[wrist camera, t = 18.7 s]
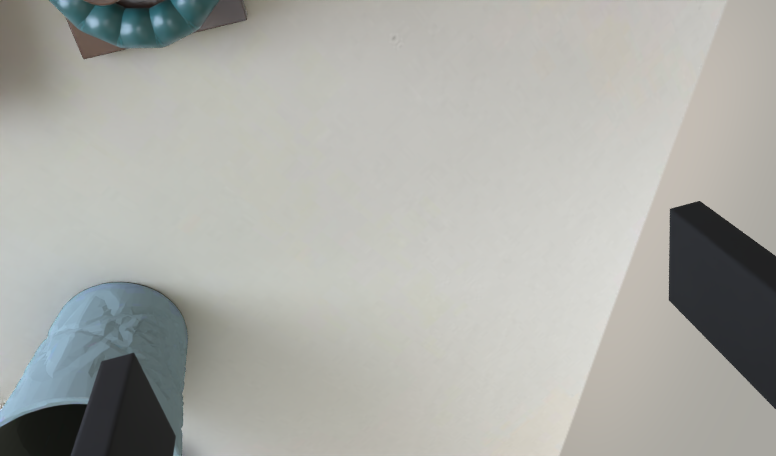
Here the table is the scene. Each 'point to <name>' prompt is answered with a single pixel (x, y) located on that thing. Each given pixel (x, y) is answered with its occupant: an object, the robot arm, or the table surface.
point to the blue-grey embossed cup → (95, 366)
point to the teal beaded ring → (137, 21)
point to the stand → (222, 14)
